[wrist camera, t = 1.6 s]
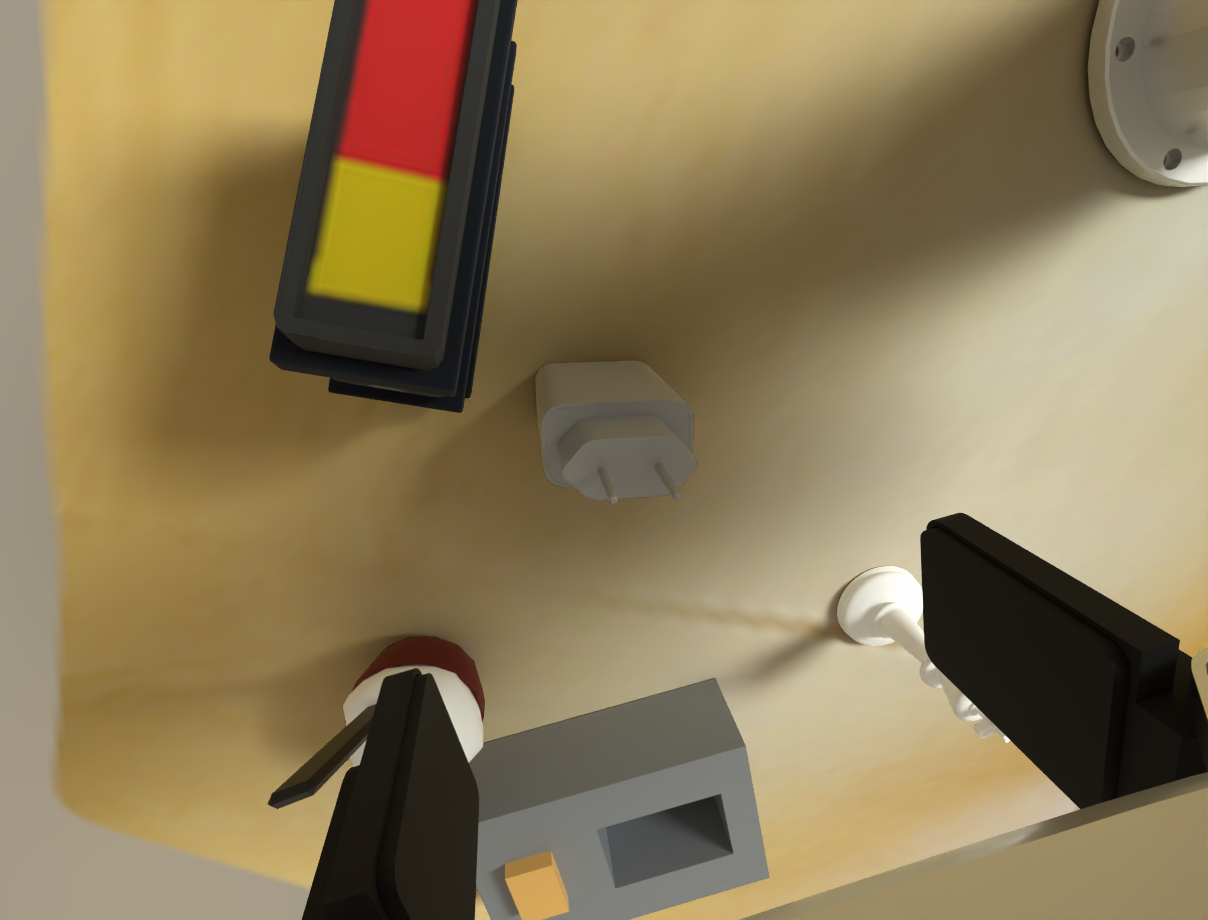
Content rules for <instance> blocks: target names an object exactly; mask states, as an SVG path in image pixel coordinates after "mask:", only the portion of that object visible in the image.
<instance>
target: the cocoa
mask: <svg viewBox="0 0 1208 920" xmlns="http://www.w3.org/2000/svg"><path fill="white" fill-rule="evenodd" d="M414 668H418V669H419V670H420V671H421V673H422V675H423V674H427V673H431V674H432V675H433V677H434V679H435V682H436V684H437V687H438V689H439V691H440V694H441V696H442V699H443V701H444V704H445V706H446V709H447V711H448V714H449V716H450V718H451V721H452V723H453V726H454V728H455V731H456V733H457V736H458V738H459V740H460V743H461V745H462V748H463V750H464V753H465V755H466V758H467V760H468V763H469V762H470V761H471V760H472V759H473V758H474V757H475V755H476V754H477V753H478V752H479V751H480V750H481V749H482V747H483V735H484V731H483V725H482V722H483V718H484V707H485V700H484V694H483V689H482V686H481V683H480V679H479V676H478V673H477V669H476V666H475V663H474V661H473V660H472V659H471V658H470V657H469V656H468V655H467V654H466V653H465V652H464V651H463V650H462V649H461V648H460V647H459V646H458V645H456V644H454V643H451V642H448V641H446V640H443V639H440V638H438V637H409V638H407V639H405V640H402V641H400V642H398V643H395V644H393V645H391V646H388V647H387V648H386V649H385V650H384V651H383V652H382V653H381V654H380V655H379V656H378V657H377V658H376V660H375V661H374V662H373V663H372V664H371V665H370V666H369V668H368V669H367V670H366V671H365V672H364V673H363V675H362V676H361V677H360V678H359V679H358V681H357V682H356V684H355V686H354V688H353V690H352V692H351V693H350V694H349V696H348V698H347V699H346V701H345V703H344V705H343V710H344V715H345V722H346V727H345V728H344V729H343V730H342V731H341V732H339V733H338V734H337V735H336V736H335V737H334V738H333V739H332V740H331V741H330V742H328V743H327V744H326V745H325V746H324V747H323V748H322V749H321V750H320V751H319V752H317V753H316V754H315V755H314V756H313V757H312V758H311V759H310V760H309V761H308V762H306V763H305V764H304V765H303V766H302V767H301V768H300V769H299V770H298V771H297V772H295V773H294V774H293V775H292V776H291V777H290V778H289V779H288V780H287V781H286V782H284V783H283V784H282V785H281V786H280V787H279V788H278V789H277V790H276V791H275V792H273V793H272V795H271V797H270V800H269V802H268V805H270V806H272V807H274V808H277V809H279V808H281V807H284V806H286V805H289V804H291V803H294V802H297V801H299V800H302V799H304V798H307V797H310V796H312V795H314V794H315V793H316V792H317V791H318V790H319V789H320V788H321V787H322V786H323V784H324V783H325V782H326V781H327V780H328V779H329V778H330V777H331V776H332V775H333V774H334V773H335V772H336V771H337V770H338V769H339V768H340V767H341V766H342V765H343V764H344V763H345V762H346V761H347V760H348V759H349V758H350V760H351V763H352V766H353V767H355V766H358V765H360V762H361V758H362V755H363V751H364V747H365V744H366V740H367V736H368V733H369V729H370V725H371V722H372V718H373V714H374V711H375V707H376V703H377V700H378V696H379V692H380V689H381V685H382V682H383V679H384V678H385V677H386V676H390V675H393V674H397V673H400V672H404V671H407V670H411V669H414Z"/></svg>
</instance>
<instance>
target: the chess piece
mask: <svg viewBox="0 0 1208 920" xmlns="http://www.w3.org/2000/svg"><path fill="white" fill-rule="evenodd" d="M922 611H923V595H922V588H921V586H920V585H919V583H918V582H917V581H916V580H915V578H914V577H913V576H912V575H911V574H910V573H909V572H907V571H906V570H904V569H902V568H899V567H894V566H882V567H877V568H873V569H871V570H868V571H866V572H864V573H862V574H861V575H859V576H858V577H856V578H855V579H854V580H853V581H852V582H851V583H850V584H849V585H848V586H847V587H846V589H845V590H844V592H843V593H842V595H841V597H840V600H839V603H838V607H837V618H838V622H839V624H840V626H841V628H842V629H843V631H844V632H845V633H846V634H848V635H849V636H850V637H851V638H852V639H854V640H855V641H857V642H858V643H861V644H864V645H868V646H880V645H886V644H889V643H892V642H894V641H895V642H897V643H898V644H899V645H900V646H902V647H903V648H904V649H906V650H907V651H908V652H909V653H910V654H912V655H913V656H914V657H915V658H916V659H918V660H919V661H920V662H921V663H922V665H921V668H920V677H921V679H922V681H923V682H924V683H926V684H928V685H929V686H931V687H935V688H941V687H943V690H944V692H945V694H946V695H947V697H948V700H949V703H950V706H951V708H952V710H953V712H954V713H955V715H956V716H957V717H958V718H960V719H962V720H965V721H975V720H979V719H981V718H983V720H981V721H980V722H978V723H976V724H974V725H973V728H974V730H975V732H976V733H977V734H978V735H979V736H980V737H981V738H982V739H984V738H986V737H987V736H989V735H991V734H993V733H994V732H996V733H997V734H998V735H999V736H1000V737H1001V738H1002V739H1003V740H1004V741H1005V742H1006V743H1007V742H1009V741H1011V740H1010V739H1009V738H1008V737H1007V736H1005V735H1004V734H1003V733H1002V732H1001V731H1000V730H999V729H998V728H997V727H996V726H995V725H994V724H993V723H992V722H991V721H990V720H989V719H988V718H987V717H986V716H985V715H984V714H983V713H982V712H981V711H980V710H979V709H978V708H977V707H976V706H975V705H974V704H973V703H972V702H971V701H970V700H969V699H968V698H967V697H966V696H965V695H964V694H963V693H962V692H961V691H960V690H959V689H958V688H957V687H956V686H955V685H954V684H953V683H952V682H951V681H950V680H948V679H947V678H946V677H945V676H944V675H943V674H942V673H941V672H940V671H939V670H938V669H937V668H936V667H935V666H934V665H933V663H932V662H931V661H930V659H929V657H928V655H927V653H926V650H925V645H924V632H923V631H922V630H921V628H920V627H919V626H918V624H917V622H918V620H919V618H920V616H921V614H922Z"/></svg>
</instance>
